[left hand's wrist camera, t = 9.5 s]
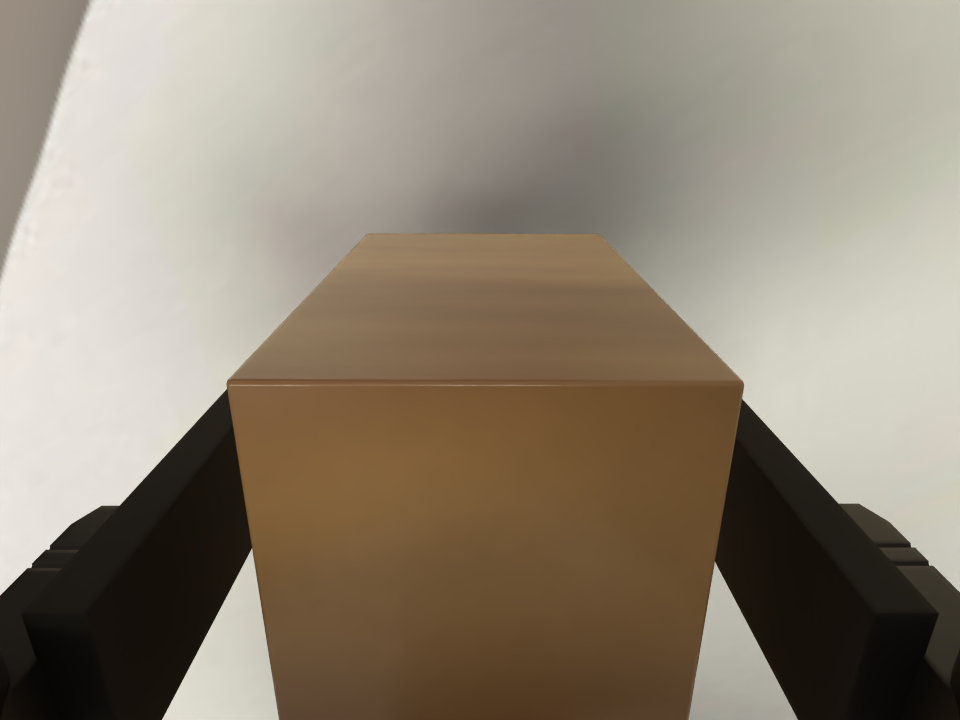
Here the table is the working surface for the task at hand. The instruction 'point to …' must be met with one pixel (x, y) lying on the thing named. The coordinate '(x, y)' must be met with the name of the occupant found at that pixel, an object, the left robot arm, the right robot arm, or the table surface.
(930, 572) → the left robot arm
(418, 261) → the bar
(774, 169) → the table surface
